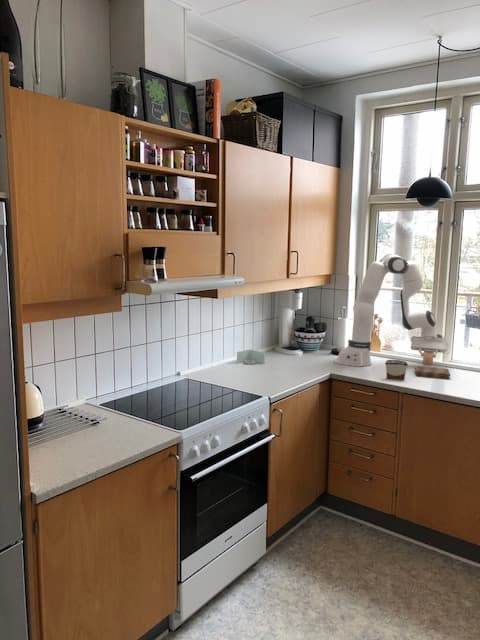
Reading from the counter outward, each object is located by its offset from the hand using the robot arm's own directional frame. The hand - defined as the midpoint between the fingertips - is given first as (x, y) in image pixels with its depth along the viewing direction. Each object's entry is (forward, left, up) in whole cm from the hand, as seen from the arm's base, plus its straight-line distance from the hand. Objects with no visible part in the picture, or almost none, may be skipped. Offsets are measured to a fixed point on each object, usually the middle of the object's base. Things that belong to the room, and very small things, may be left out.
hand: (428, 356), depth 305 cm
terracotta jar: (0, 0, -5) cm, 5 cm away
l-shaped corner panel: (-102, -27, -9) cm, 106 cm away
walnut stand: (+1, -14, -8) cm, 16 cm away
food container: (-20, -30, -8) cm, 37 cm away
